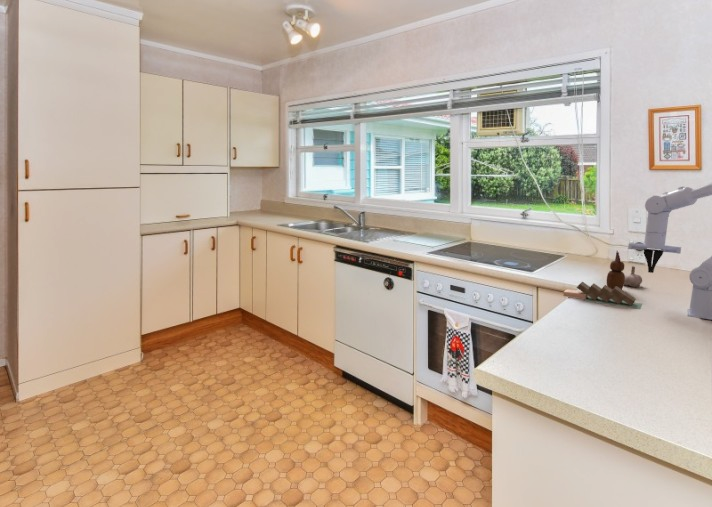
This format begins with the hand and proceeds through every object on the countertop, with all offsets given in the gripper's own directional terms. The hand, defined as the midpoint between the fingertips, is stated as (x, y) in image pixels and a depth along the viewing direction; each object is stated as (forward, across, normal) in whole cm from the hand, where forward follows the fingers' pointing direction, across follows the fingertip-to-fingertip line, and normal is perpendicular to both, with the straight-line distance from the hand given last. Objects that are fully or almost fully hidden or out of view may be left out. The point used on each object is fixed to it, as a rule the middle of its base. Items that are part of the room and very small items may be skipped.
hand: (650, 272), depth 146 cm
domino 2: (+9, +10, +9) cm, 16 cm away
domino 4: (+9, +3, +9) cm, 13 cm away
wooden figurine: (+11, +11, -11) cm, 19 cm away
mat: (+10, +9, +9) cm, 17 cm away
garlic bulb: (+11, +7, -24) cm, 27 cm away
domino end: (+9, +17, +9) cm, 21 cm away
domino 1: (+9, +14, +9) cm, 19 cm away
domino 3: (+9, +7, +9) cm, 15 cm away
